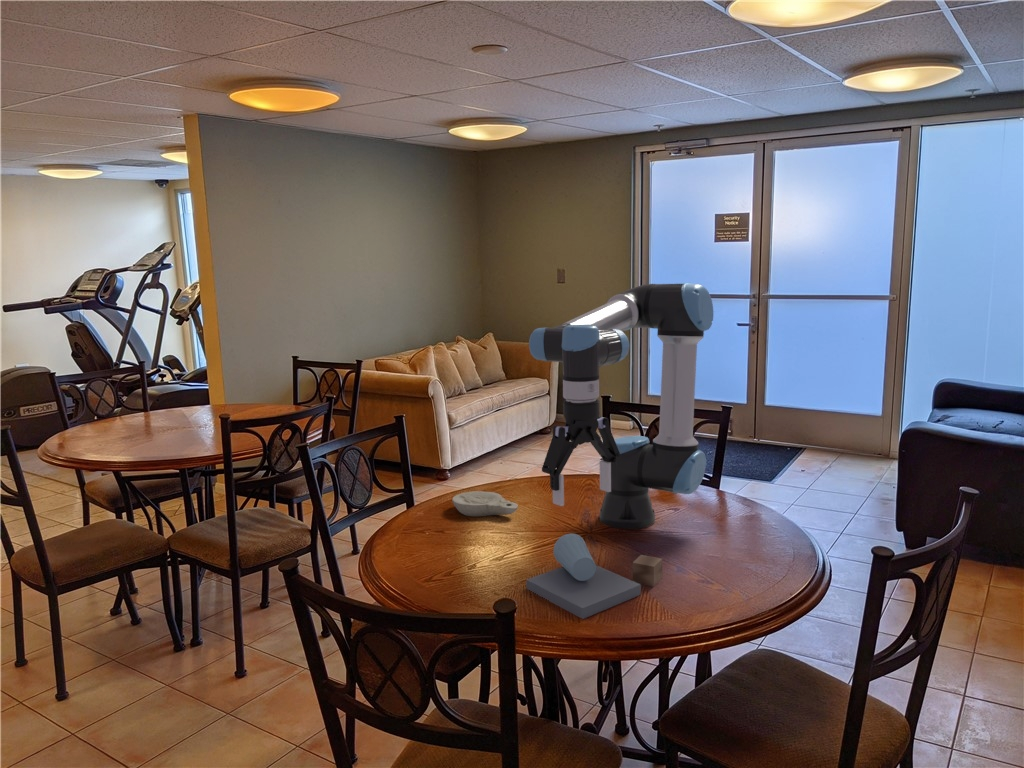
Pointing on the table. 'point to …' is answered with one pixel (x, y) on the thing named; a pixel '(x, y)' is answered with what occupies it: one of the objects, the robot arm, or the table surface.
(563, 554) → the cup
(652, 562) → the walnut block
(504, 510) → the oil lamp
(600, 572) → the plinth
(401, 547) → the table surface
